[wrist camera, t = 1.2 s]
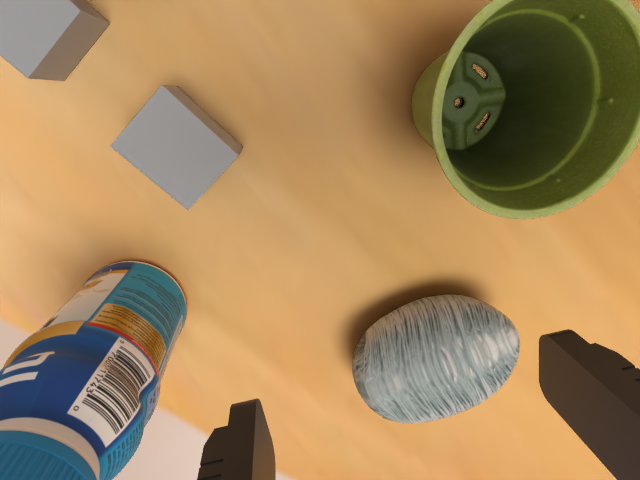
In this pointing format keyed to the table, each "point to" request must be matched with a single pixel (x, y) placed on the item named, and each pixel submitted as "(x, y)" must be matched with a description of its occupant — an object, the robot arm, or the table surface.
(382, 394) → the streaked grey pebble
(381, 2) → the table surface
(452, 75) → the plant pot
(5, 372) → the beverage bottle
